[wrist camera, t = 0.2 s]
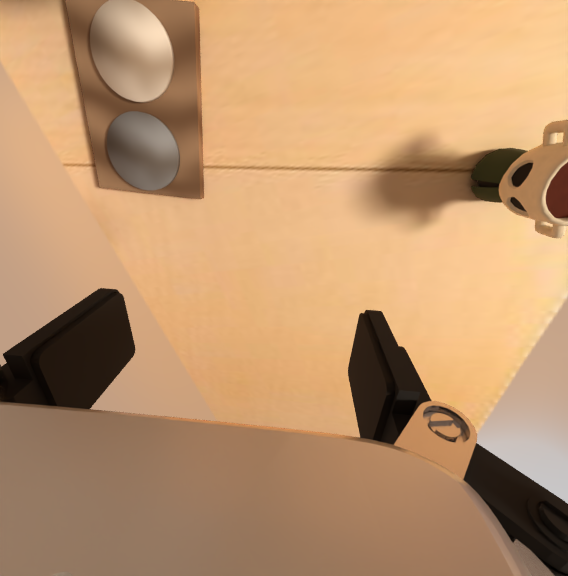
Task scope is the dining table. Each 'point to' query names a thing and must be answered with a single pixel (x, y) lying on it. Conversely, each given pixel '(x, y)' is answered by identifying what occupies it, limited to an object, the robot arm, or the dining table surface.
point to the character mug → (530, 181)
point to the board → (142, 92)
